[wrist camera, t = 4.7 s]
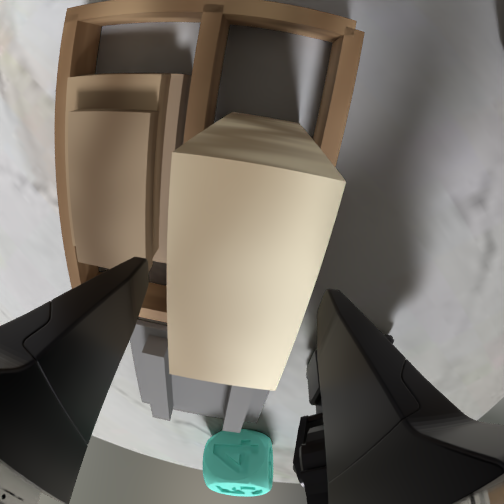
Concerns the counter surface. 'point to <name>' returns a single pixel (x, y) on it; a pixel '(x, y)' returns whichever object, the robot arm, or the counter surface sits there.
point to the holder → (187, 385)
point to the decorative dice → (238, 463)
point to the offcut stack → (122, 162)
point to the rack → (201, 80)
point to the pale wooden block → (245, 247)
